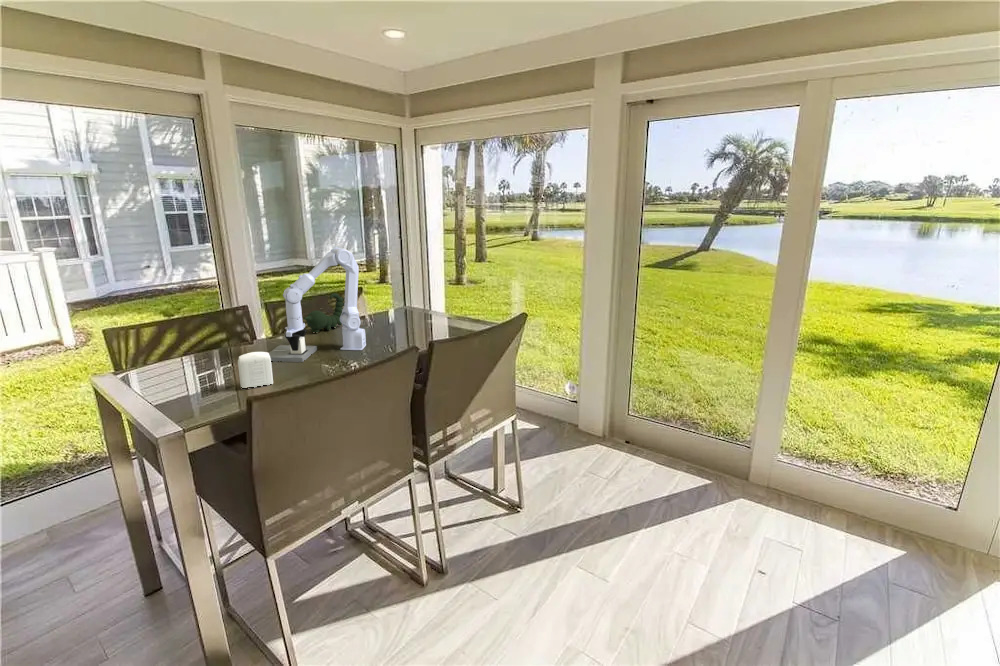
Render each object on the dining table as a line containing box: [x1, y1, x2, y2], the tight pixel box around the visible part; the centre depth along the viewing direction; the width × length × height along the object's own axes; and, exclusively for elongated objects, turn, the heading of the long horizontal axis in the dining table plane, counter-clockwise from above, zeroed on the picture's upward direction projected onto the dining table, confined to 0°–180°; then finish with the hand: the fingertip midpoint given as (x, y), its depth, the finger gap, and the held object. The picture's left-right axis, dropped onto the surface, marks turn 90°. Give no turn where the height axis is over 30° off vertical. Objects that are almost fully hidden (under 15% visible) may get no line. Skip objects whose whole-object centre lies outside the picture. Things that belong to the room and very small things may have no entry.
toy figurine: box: [303, 292, 345, 333], centre depth 230 cm, size 9×19×25 cm
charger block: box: [290, 336, 306, 355], centre depth 192 cm, size 4×4×7 cm
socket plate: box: [268, 344, 318, 363], centre depth 194 cm, size 16×16×2 cm
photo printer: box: [237, 351, 274, 389], centre depth 161 cm, size 10×4×12 cm, turn 123°
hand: (297, 348), depth 193 cm, fingers closed on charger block, 4 cm apart
